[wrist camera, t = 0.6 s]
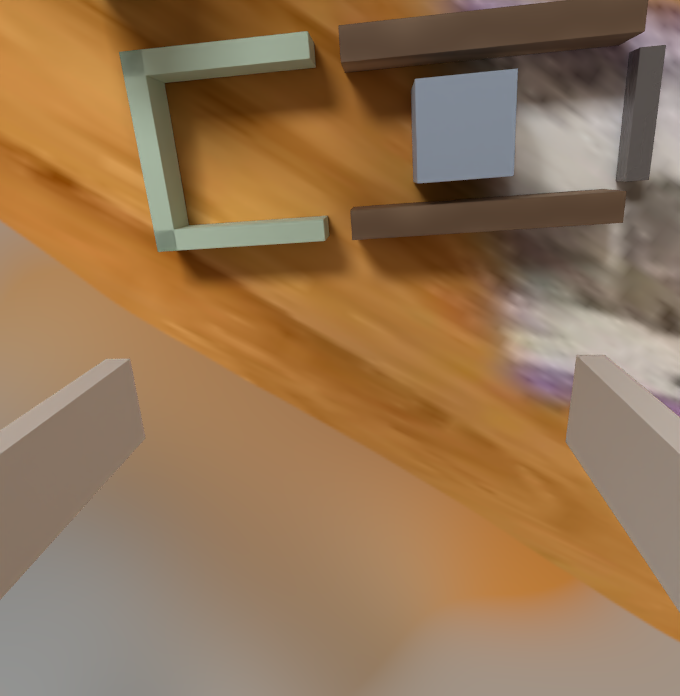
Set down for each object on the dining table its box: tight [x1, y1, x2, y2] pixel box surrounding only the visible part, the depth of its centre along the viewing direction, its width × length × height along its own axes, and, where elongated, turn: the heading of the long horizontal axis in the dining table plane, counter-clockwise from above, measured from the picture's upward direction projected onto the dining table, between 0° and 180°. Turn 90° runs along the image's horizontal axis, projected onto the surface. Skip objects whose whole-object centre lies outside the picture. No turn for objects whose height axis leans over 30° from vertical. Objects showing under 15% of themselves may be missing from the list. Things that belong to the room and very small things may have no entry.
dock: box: [119, 31, 329, 252], centre depth 35 cm, size 13×12×3 cm
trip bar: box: [616, 45, 666, 181], centre depth 33 cm, size 8×2×2 cm, turn 4°
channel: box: [339, 0, 648, 240], centre depth 33 cm, size 13×18×4 cm
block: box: [411, 68, 518, 183], centre depth 33 cm, size 6×6×5 cm
